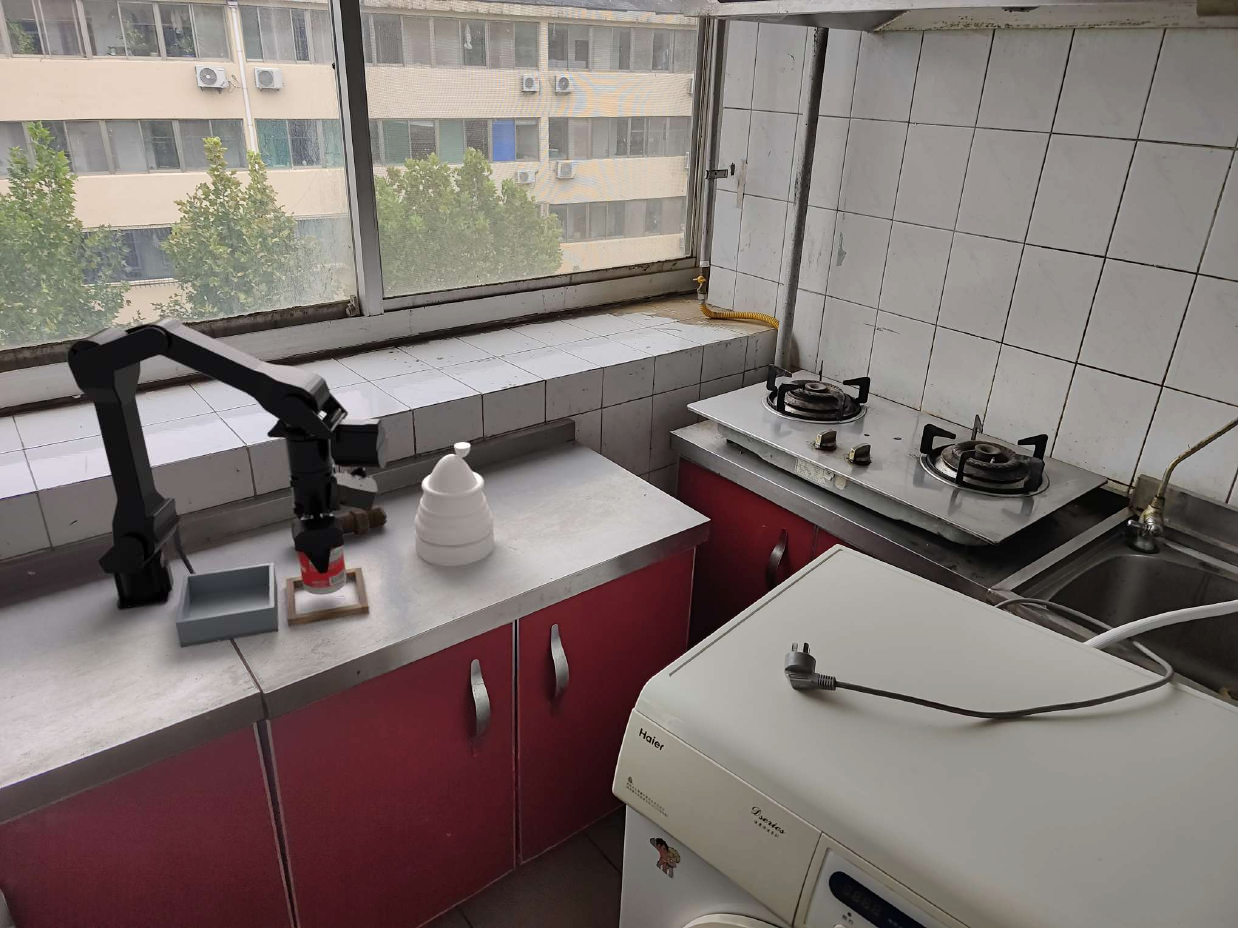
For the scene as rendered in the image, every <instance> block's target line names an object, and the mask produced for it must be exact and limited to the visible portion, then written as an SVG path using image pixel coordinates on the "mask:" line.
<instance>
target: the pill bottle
mask: <svg viewBox="0 0 1238 928" xmlns="http://www.w3.org/2000/svg"><path fill="white" fill-rule="evenodd" d="M320 516H321V517H323V516H322V514H320ZM330 516H334V514H333V513H332V512H331V513H330ZM310 519H313V515H311V518H310ZM300 520H305V519H303V517H302V518H301V519H300ZM298 558H299V559H298V560H299V566H300V568H299V569H300V573H301V576H302V583H303V586H302V587H303V590H305V591H306V592H307V593H309V594H312V595H318V596H319V595H323V596H324V595H329V594H333V593H337V591H339V590H341V589H342V588H343V587H344V586H345V585H346V583H347V580H346V570H347V568H346V563H345V551H344V545H342V546H341V547H336V548H331V553H330V560H329V566H328V572H327V573H322V574H320V573H319V572H318V571H317V569H316V568H315V567H314V565H313V564H312V563H311V561H310V560H309V559H308V557H307V556H306V555H305V554H304V552H298Z"/></svg>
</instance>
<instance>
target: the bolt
mask: <svg viewBox="0 0 1238 928" xmlns="http://www.w3.org/2000/svg"><path fill="white" fill-rule="evenodd" d="M335 517H336V518H338V519H339V520H341V522H342V529H343V536H345V535H348V534H354V535H356V536H357V537H361V536H365V535H367V534H368V533H369V531H370V529H372V528H377V527H381V526H384V525H385V524H386V523H387V522H388V520H387V517H388V515H387V513H386V511H385V509H384V508H383V507H380V506H379V507H375V508H372V510H371V511H364V510H362V509H360V508H354V507H351V509H350V510H349V513H348V514H345V515H342V516H338V517H337V516H335ZM298 521H299V518H298V517H297V518H294V519H293V520H292V522H291V527H290V528H291V529H290V530H291V536H292V540H293V541H294V532H293V527H294V526H295V525H296V523H297V522H298Z"/></svg>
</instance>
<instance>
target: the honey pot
mask: <svg viewBox="0 0 1238 928" xmlns="http://www.w3.org/2000/svg"><path fill="white" fill-rule="evenodd" d="M453 449H454V452H455V454H454V453H450V454H449V453H448V454H447V455H445V456H443V457H442V458H441V459H440V460H439V461H438V462H437V464H436V465H435V466H434V468H433V470H432V471H431V474H428V475H427V476H426V477H424V479H423V480H422V482H421V489H422V491H423V494H422V496H421V498H420V500H419V506H418V509H417V513H416V515H415V516H414V523H413V524H414V536H415V537H414V538H415V550H416V553H417V555H418V556H419V557H420V558H421V559H423V560H424V561H426V562H427V563H430V564H435V565H437V566H445V567H446V566H447V567H453V566H456V567H457V566H464V565H470V564H474V563H475V562H478V561H481V560H482V559H484V558H485V557H488V555H489V554H491V552H492V551H493V549H494V547H495V546H494V545H495V542H494V541H495V540H494V539H495V538H494V536H495V535H494V517H493V512H492V511H491V510H490V506H489V504H488V502H487V497H486V496H485V495H486V494H484V493H483V488H484V487H485V480H484V478H483V477H482V475H481V474H479V473H477V472H474V471H473V470H472V469H471V467H470V466H469V465H468V463H467V462H466V461H465V460H464V459H463V458H464V457H466V456H468V454H469V453H470V451H471V444H470V443H469V442H465V441H463V442H456V443H455V444H454V445H453Z"/></svg>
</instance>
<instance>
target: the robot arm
mask: <svg viewBox="0 0 1238 928" xmlns="http://www.w3.org/2000/svg"><path fill="white" fill-rule="evenodd" d="M157 356H160V357H161V356H162V357H165V358H167V359H169V360H171V361H173V362H176V363H178V364H180V365H182V366H184V367H186V368H189V369H191V370H193V371H196V372H198V373H200V374H202V375H204V376H207V377H209V378H211V379H213V380H216V381H218V382H220V383H222V384H224V385H227V386H230V387H231V388H234V389H236V390H237V391H240V392H243V393H245V394H247V395H248V396H250V397H251V398H253V399H254V400H255V401H256V402H257V404H259V406H261V408H263V410H264V411H265V412H267V413H269V414H270V415H272V416H273V417H275V418H277V421H276V423H275V424H274V425H273V426H272V427H271V429H269V430H268V432H267V434H266V435H267V437H269V438H277V439H279V438H280V439H281V438H282V439H284V442H285V443H284V445H285V452H286V457H287V466H288V475H289V477H288V478H289V484H290V491H291V498H292V507H293V508H292V509H293V515H296V517H297V518H299V521H298V522H297V523H296V525H295V526H294V527H293V532H294V540H293V542H294V544H293V545H294V550H295V552H304V554H305V555H306V556H307V557H308V559H309V560H310V561H311V563H312V564H313V565H314V567H315V568H316V569H317V571H318V572H319V573H320V574H322V573H327V572H328V566H329V560H330V553H331V548H336V547H341V546H342V545H343V546H344V545H345V537H344V536H345V535H343V529H342V522H341V520H339V519H338V518H336V517H337V516H335V515H333V516H330V513H331V514H332V513H333V512H335V511H340V510H341V505H342V506H344V507H349V508H360V509H362V510H364V511H371V510H372V509H374V508H373V507H374V504H375V501H376V497H377V494H378V491H379V489H378V486H377V481H376V480H375V479H373V476H371V475H367V473H366V469H382V470H383V469H384V468H385V467H386V464H387V460H388V456H389V455H388V454H389V436H388V435H387V433H386V430H385V428H384V427H383V424H382V419H380V418H368V419H350V418H347V416H348V415H349V412H348V411H347V409H346V408H344V406H343V405H342V404H341V403H340V402H339V401H338V399H337V398H335V396H334V395H333V394H332V393H331V392H330V389H329V386H328V384H327V380H326V379H324V378H323V376H321V375H319V374H318V373H317V372H316V373H315V372H313V371H309V370H306V369H302V368H299V367H295V366H291V365H282V364H273V363H269V362H267V361H262V360H261V359H258V358H257V357H254V356H252V355H250V354H248V353H245V352H243V351H241V350H239V349H237V348H235V347H233V346H230V345H228V344H226V343H223V342H221V341H219V340H217V339H215V338H212V337H211V336H208V335H206V334H204V333H202V332H199V331H198V330H195V329H192V328H190V327H189V326H186V325H184V324H183V323H182V322H181V321H179V320H178V319H176V318H173V317H168V316H167V317H166V316H165V317H161V318H159V319H157V320H155V321H151V322H148V323H144V324H138V325H136V326H133V327H130V328H127V329H120V328H117V327H113V326H112V327H104V328H103V329H100V330H99V331H97V332H94V333H92V334H90V335H89V336H87V337H85V338H83V339H81V340H79V341H77V342H75V343H73V345H71V347H70V348H69V349H68V350H67V352H66V363H67V365H68V367H69V370H70V372H71V374H72V377H73V379H74V382H75V384H76V386H77V388H78V389H79V390H80V391H81V392H82V393H83V394H84V395H85V396H86V397H87V398H88V399H89V400H90V401H91V402H92V404H93V406H94V409H95V413H96V419H97V421H98V426H99V431H100V435H101V437H102V443H103V447H104V451H105V454H106V458H107V459H106V460H107V462H108V467H109V471H110V477H111V480H112V483H113V488H114V492H115V496H116V503H115V507H114V513H113V516H112V520H111V536H112V546H111V547H110V548H109V550H107V551H106V552H105V554H104V555H102V556H101V558H100V559H99V560H98V564H99V566H100V567H101V568H102V569H103V572H104V573H105V574H112V576H113V580H114V582H115V587H116V592H117V596H118V600H117V604H116V605H117V608H118V609H119V610H120V609H127V608H133V607H140V606H148V605H155V604H160V603H166V602H168V601H169V597H170V593H171V591H173V587H174V576H173V572H172V568H171V563H170V560H169V559H168V558H165V555H164V551H163V547H165V546H166V545H167V544H168V540H169V539H170V537H171V536H172V535H173V534H175V532H176V530H177V526H178V524H179V523H180V522H181V518H180V517H179V515H178V513H177V510H176V508H177V507H176V499H175V497H167V498H165V497H164V496H162V494H161V493H160V492H159V491H158V490H157V489H156V486H155V480H154V476H153V472H152V467H151V462H150V458H149V454H148V450H147V449H148V448H147V444H146V440H145V435H144V431H143V426H142V422H141V416H140V413H139V408H138V403H137V398H136V393H137V389H138V385H139V379H140V376H141V362H142V361H145V360H148V359H150V358H154V357H157ZM321 412H323V413H325V414H326V415H324V417H323V418H321V417H320V416H319V415H320V413H321ZM333 462H334V464H333ZM335 466H339V467H340V468H349V469H348V470H347V471H345V470H344V471H343V473H342V472H336V467H335ZM320 514H322V516H323V517H321V516H320ZM311 515H313V519H310V518H311ZM302 517H303V519H305V520H300V519H301V518H302Z"/></svg>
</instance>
